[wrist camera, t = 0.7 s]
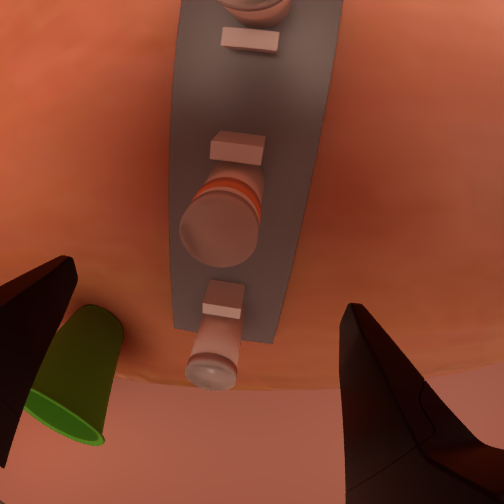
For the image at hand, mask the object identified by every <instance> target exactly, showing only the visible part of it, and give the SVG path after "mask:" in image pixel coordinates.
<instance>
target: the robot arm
mask: <svg viewBox="0 0 504 504" xmlns="http://www.w3.org/2000/svg"><path fill="white" fill-rule="evenodd" d="M77 281H78V275H77V271H76V267H75V263H74V260H73V258H72V257H69V256H65V255H61V256H59V257H57V258H55V259H53V260H51V261H49V262H47V263H45V264H43V265H41V266H39V267H37V268H35V269H33V270H31V271H29V272H27V273H25V274H23V275H21V276H19V277H17V278H15V279H13V280H11V281H9V282H7V283H5V284H4V285H2V286H0V466H1V467H2V468H4V467H5V465H6V462H7V458H8V455H9V451H10V448H11V445H12V441H13V438H14V435H15V432H16V429H17V426H18V423H19V420H20V417H21V414H22V411H23V409H24V406H25V403H26V401H27V398H28V395H29V393H30V390H31V388H32V385H33V383H34V380H35V378H36V376H37V373H38V371H39V369H40V366H41V364H42V362H43V359H44V357H45V355H46V353H47V350H48V348H49V346H50V344H51V342H52V340H53V338H54V336H55V333H56V331H57V329H58V327H59V325H60V323H61V321H62V319H63V316H64V314H65V312H66V309H67V307H68V304H69V301H70V299H71V297H72V294H73V292H74V289H75V287H76V285H77ZM339 378H340V389H341V401H342V415H343V429H344V430H343V432H344V452H345V481H346V482H345V483H346V504H504V450H503V449H499V448H495V447H491V446H488V445H486V444H484V443H482V442H481V441H480V440H478V439H477V438H476V437H475V436H474V435H473V434H472V433H471V432H470V431H469V430H468V428H467V427H466V426H465V425H464V424H463V423H462V422H461V421H460V420H459V419H458V418H457V417H456V416H455V414H454V413H453V412H452V411H451V410H450V409H449V408H448V407H447V406H446V405H445V403H444V402H443V401H442V400H441V399H440V398H439V396H438V395H437V394H436V393H435V392H434V390H433V389H432V388H431V387H430V385H429V384H428V383H427V382H426V381H424V378H423V377H422V375H421V374H420V373H419V372H418V370H417V369H416V368H415V367H414V365H413V364H412V363H411V362H410V361H409V359H408V358H407V357H406V356H405V354H404V353H403V352H402V351H401V350H400V348H399V347H398V346H397V345H396V343H395V342H394V341H393V340H392V339H391V337H390V336H389V335H388V334H387V333H386V332H385V330H384V329H383V328H382V327H381V326H380V324H379V323H378V322H377V321H376V320H375V319H374V317H373V316H372V315H371V314H370V313H369V312H368V310H367V309H366V308H365V307H364V306H363V305H362V304H358V303H349V304H348V306H347V308H346V310H345V313H344V315H343V317H342V320H341V323H340V340H339ZM0 504H5V503H3V502H2V501H0Z"/></svg>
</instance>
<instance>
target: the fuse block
mask: <svg viewBox="0 0 504 504" xmlns="http://www.w3.org/2000/svg"><path fill="white" fill-rule="evenodd" d="M342 2H343V0H291V6H290V10H289V13H288V15H287V16H286V17H285V19H284V20H283V21H282V22H280V23H279V24H277V25H275V26H273V27H269V28H265V29H256V28H251V27H247V26H245V25H243V24H241V23H240V22H239V21H237V20H236V19H235V18H234V17H233V15H232V14H231V13H230V12H229V11H228V10H227V9H226V8H225V7H224V6H223V5H221V4H220V3H218V2H217V1H216V0H182V2H181V10H180V17H179V25H178V34H177V43H176V53H175V63H174V75H173V88H172V104H171V122H170V148H169V244H170V270H171V290H172V306H173V320H174V328H176V329H181V330H186V331H192V332H197V331H198V328H199V324H200V321H201V317H202V314H203V313H205V314H211V315H217V316H223V317H229V318H236V319H240V314H241V308H242V305H243V306H244V308H245V318H244V325H243V332H242V338H241V340H246V341H253V342H260V343H268V344H273V340H274V336H275V332H276V328H277V325H278V321H279V317H280V313H281V309H282V305H283V301H284V297H285V293H286V289H287V285H288V281H289V277H290V273H291V268H292V264H293V260H294V256H295V251H296V247H297V243H298V239H299V234H300V230H301V225H302V221H303V216H304V212H305V207H306V203H307V198H308V193H309V189H310V184H311V179H312V174H313V170H314V165H315V160H316V155H317V150H318V145H319V140H320V134H321V129H322V124H323V119H324V113H325V108H326V102H327V97H328V91H329V85H330V79H331V74H332V68H333V62H334V55H335V49H336V43H337V36H338V30H339V23H340V16H341V9H342ZM220 160H223V161H231V162H239V163H246V164H254V165H259V166H260V167H261V169H262V171H263V174H264V178H265V184H264V191H263V198H262V205H261V219H260V226H259V233H258V240H257V245H256V247H255V250H254V251H253V253H252V254H251V256H250V257H249V258H248V259H247V260H245V261H244V262H242V263H240V264H238V265H235V266H231V267H213V266H209V265H206V264H204V263H202V262H200V261H198V260H197V259H195V258H194V257H193V256H192V255H191V254H190V253H189V252H188V251H187V250H186V248H185V247H184V245H183V243H182V241H181V237H180V231H179V228H180V222H181V219H182V216H183V215H184V213H185V211H186V210H187V208H188V206H189V205H190V203H191V202H192V200H193V198H194V197H195V195H196V194H197V192H198V190H199V189H200V188H201V187H202V186H203V184H204V183H205V181H206V180H207V178H208V176H209V175H210V173H211V172H212V170H213V169H214V167H215V165H216V164H217V163H218V162H219V161H220Z"/></svg>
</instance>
